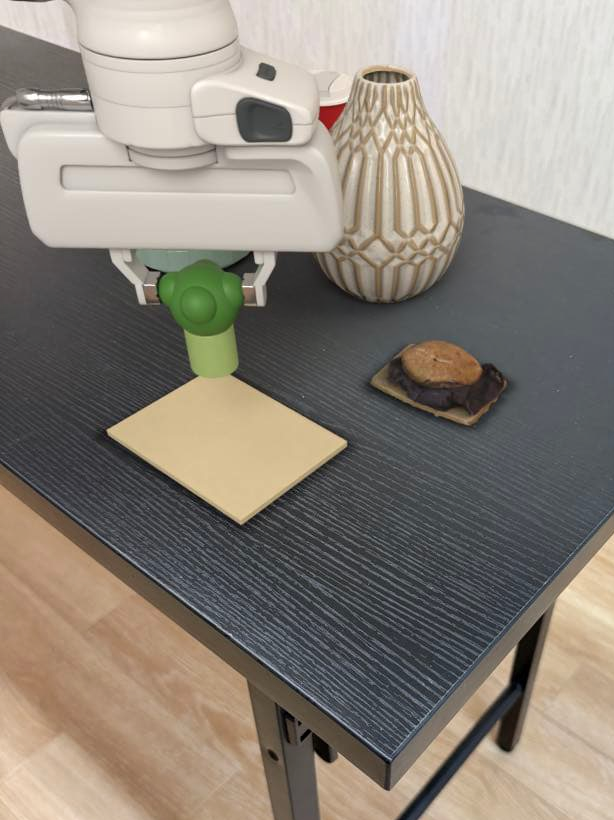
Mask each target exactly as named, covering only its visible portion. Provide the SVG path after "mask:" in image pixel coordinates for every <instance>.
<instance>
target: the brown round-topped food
mask: <svg viewBox="0 0 614 820" xmlns="http://www.w3.org/2000/svg"><path fill="white" fill-rule="evenodd" d="M369 385H371V386H372V387H374V388H376V389H378V390H379V391H382V392H383V393H385V394H387V395H390V396H391V397H395V398H394V399H395V400H396V399H398V400H400V401H401V402H402V403H405V404H409V405H410V406H412V407H415V408H418V409H420V410H422V411H427V412H428V413H430V414H433V415H434V416H435V417H443V418H445V419H446V420H451V421H453V422H454V423H457V424H461V425H465V426H468V427H470V426H472V425H474V424H476V423H477V422H478V420H479V419H481V417H482V416H483V414H485V413H487V411H488V410H489V409H490V406H491V405H492V404H493V403H496V402H497V401H498V398H499V396H500V395H501V394H502V392H503V391H504V390H505V389H506V388H507V386H508V385H507V381H506V379H505V378H504V375H503V373H502V371H500V370H498V368H497V367H496V366H495V365H494V364H493V363H491V362H484V363H483V364H482V363H479V361H478V360H477V359H476V358H475V357H474V356H473V355H472V354H470V352H468V351H466V350H465V349H463V348H462V347H460V346H459V345H458V344H454V343H451V342H449V341H443V340H435V339H433V340H430V339H429V340H424V341H421V342H419V343H409V344H407V345H406V346H405V347H404V348H403V349H402V350H401V351H400V352H398V354H396V355H395V356H394V357H393V358H392V359H391V360H389V362H387V364H385V366H382V368H381V369H380V370H379V371H378V372H377V373H376V374H375V375H373V376H372V378H371V380H370V384H369Z"/></svg>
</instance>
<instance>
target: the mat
mask: <svg viewBox="0 0 614 820" xmlns="http://www.w3.org/2000/svg"><path fill="white" fill-rule="evenodd" d="M106 432H107V436H108V437H110V438H111V439H113V440H114V441H116V442H117V443H119V444H120V445H121V446H123V447H125V448H126V449H128V450H129V451H130V452H132V453H134V454H135V455H137V456H138V457H139V458H141V459H143V461H145V462H147V463H148V464H150V465H151V466H153V467H154V468H156V469H157V470H159V471H161V472H162V473H163V474H165V475H166V476H168V477H169V478H171V479H172V480H174V481H175V482H177V484H179V485H181V486H183V487H184V488H186V489H187V490H188V491H190V492H191V493H193V494H194V495H195V496H197V497H199V498H201V499H202V501H203V500H204V501H205V502H206V503H207V504H209V505H211V506H212V507H214V508H215V509H217V510H218V511H220V512H221V513H223V514H224V515H226V516H227V517H228V518H230V519H231V520H233V521H234V522H236V523H237V524H239V525H240V526H242V525H243V524H245V523H247V522H248V521H249V520H250V519H252V518H253V517H254V516H256V515H257V514H259V513H260V512H261V511H263V510H264V509H265V508H267V507H268V506H269V505H271V504H272V503H274V502H275V501H276V500H277V499H279V498H280V497H282V496H283V495H284V494H285V493H286V492H288V491H289V490H290V489H292V488H294V487H295V486H296V485H297V484H299V483H300V482H302V481H303V480H304V479H306V478H307V477H308V476H309V475H311V474H313V473H314V472H315V471H316V470H318V469H319V468H320V467H321V466H323V465H324V464H326V463H327V462H329V461H330V460H331V459H333V458H334V457H335V456H337V455H338V454H339V453H341V452H342V451H343V450H344V449H346V448H347V447H348V441H347V440H346V439H344V438H342V437H340V436H339V435H337V434H335V433H334V432H331V431H330V430H328V429H326V428H324V427H323V426H322V425H319V424H318V423H316V422H315V421H312V420H310V419H309V418H307V417H306V416H303V415H302V414H300V413H299V412H296V411H295V410H293V409H291V408H289V407H287V406H286V405H284V404H282V403H281V402H279V401H278V400H275V399H274V398H272V397H271V396H268V395H267V394H265V393H263V392H261V391H260V390H258V389H256V388H254V387H253V386H252V385H249V384H247V383H246V382H245V381H242V380H240V379H238V378H237V377H235V376H234V375H232V374H229V375H227V376H224V377H220V378H205V377H201V376H199V375H197V376H196V377H195V378H193V379H191V380H190V381H188V382H186V383H185V384H183V385H181V386H179V387H177V388H176V389H175V390H173V391H171V392H169V393H168V394H166V395H164V396H163V397H161V398H158V399H157V400H155V401H154V402H152V403H151V404H148V405H147V406H145V407H144V408H142V409H140V410H138V411H137V412H134V414H132V415H130V416H128V417H126V418H124V419H123V420H121V421H120V422H118V423H116V424H115V425H113V426H111V427H109V428H107V429H106Z"/></svg>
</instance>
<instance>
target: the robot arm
mask: <svg viewBox="0 0 614 820" xmlns="http://www.w3.org/2000/svg"><path fill="white" fill-rule="evenodd" d="M10 1H12V2H26V3H27V2H28V3H47V2H53V1H54V0H10ZM62 1H63V2H65V3H67V5H68V6H69V7H70V8H71V9H72V11H73V14H74V17H75V24H76V39H77V44H78V48H79V53H80V56H81V60H82V64H83V68H84V74H85V77H86V81H87V85H88V88H85V87H83V88H71V87H70V88H68V87H67V88H58V89H42V88H40V87H31V86H30V87H21V88H18V89H16V91H15V94H13V95H12V96H9V97H8V98H6V99H5V100H4V101H3V103H2V104H1V105H0V106H1V107H0V127H1V130H2V133H3V136H4V139H5V142H6V145H7V147H8V148H7V149H8V150H9V152H10V153H11V155H12V156H13V157H14V158H15V159H16V161H17V169H18V176H19V183H20V188H21V189H20V190H21V195H22V200H23V204H24V208H25V214H26V217H27V221H28V224H29V228H30V231H31V233H32V234H33V235H34V236H35V237H36V238H37V239H38V240H39V241H40V242H42V243H43V244H44V245H45V246H46V247H48V248H52V249H102V250H103V249H104V250H108V252H109V256H110V259H111V262H112V264H113V265H114V266H115V267H116V268H117V269H118V270H119V271H120V272H121V274H123V275H124V277H125V278H126V279H127V280H128V281H129V282H130V283H131V284H132V285H134V288H135V293H136V296H137V300H138V303H139V305H141V306H161V305H163V302H162V301H161V299H160V297H159V294H158V285H159V281H160V279H161V278H162V277H163V276H162V274H161V273H162V272H161V271H149V269H148V268H147V266H145V265H144V264H143V263H142V262H141V260H140V259H139V258H138V257H137V255H136V254H135V253H136V251H137V249H156V250H218V251H251V252H253V256H254V257H253V258H254V264H256V265H258V266H257V269H256V271H255V272H244V273H243V277H242V280H243V281H242V285H241V287H242V295H243V296H244V299H243V303H244V304H243V306H244V307H266V304H267V299H268V298H267V297H268V296H267V293H268V292H267V291H268V290H267V281H268V280H269V278H270V277H271V274H272V273H273V270H274V269H275V267H276V265H277V259H278V253H279V252H280V253H281V252H285V253H286V252H287V253H312V252H331V251H333V250H334V249H335V248H336V246H337V245H338V244H339V243H340V241H341V240H342V238H343V233H344V207H343V195H342V186H341V179H340V172H339V166H338V161H337V156H336V152H335V147H334V144H333V140H332V138H331V136H330V133H329V132H328V130H327V128H326V127H325V126H324V124H323V123H322V122H321V121H319V120H318V118H319V108H320V98H319V89H318V84H317V81H316V78H315V77H314V75H313V74H311V73H310V72H308V71H307V70H308V69H304V68H302V67H299V66H296V65H294V64H290V63H288V62H285V61H283V60H279V59H277V58H274V57H272V56H268V55H266V54H263V53H261V52H259V51H256V50H253V49H251V48H248V47H247V46H244V45H242V44H240V35H239V27H238V22H237V19H236V16H235V13H234V11H233V7H232V5H231V3H230V0H62ZM15 104H17V105H18V106H17V105H16V106H14V105H15Z"/></svg>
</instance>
